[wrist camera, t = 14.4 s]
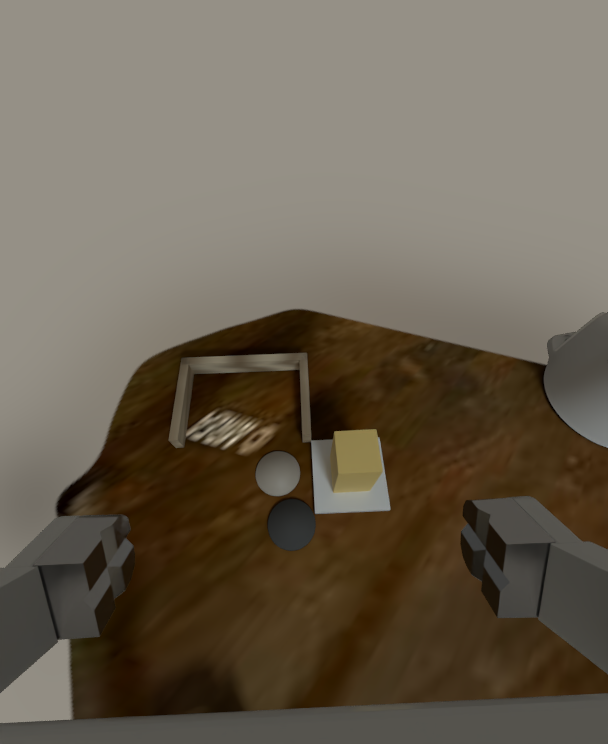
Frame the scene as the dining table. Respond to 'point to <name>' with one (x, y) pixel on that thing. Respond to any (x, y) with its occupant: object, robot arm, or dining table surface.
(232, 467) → the dining table surface
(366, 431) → the ochre block
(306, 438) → the cubby
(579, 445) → the dining table surface
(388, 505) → the pad
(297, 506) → the hole disc
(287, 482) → the painted circle
